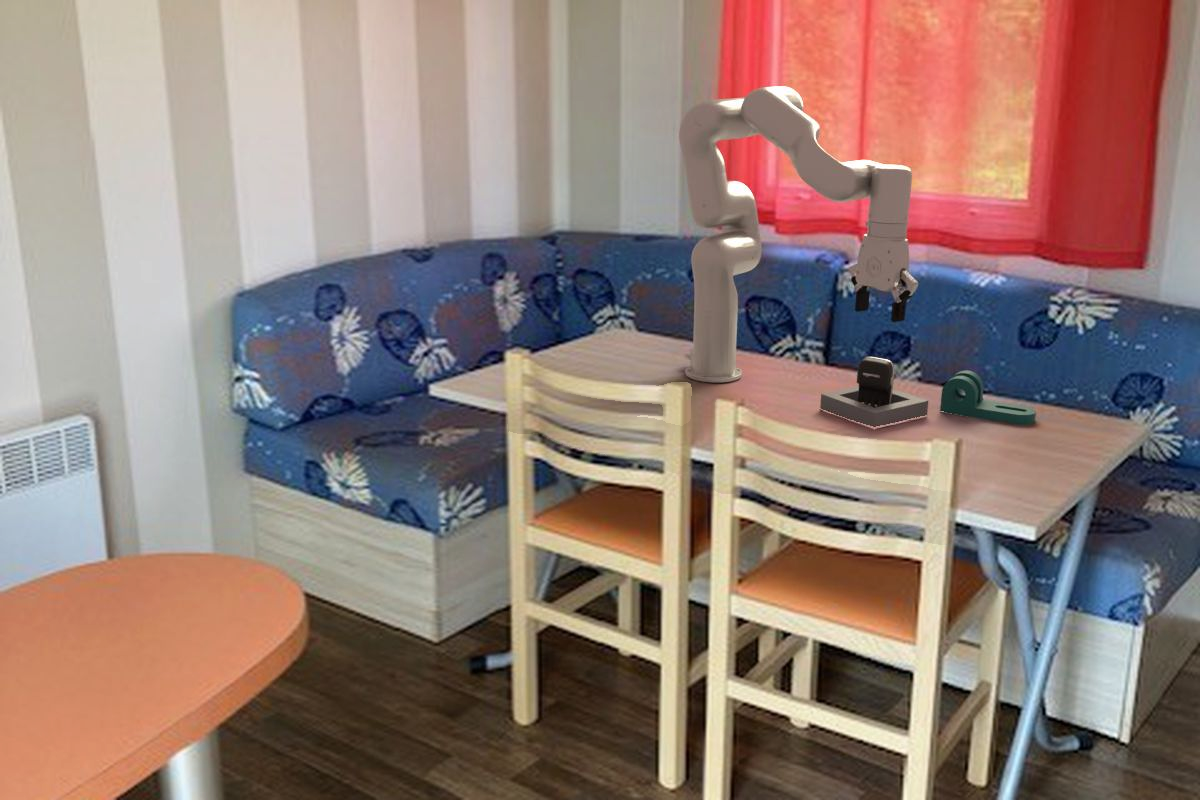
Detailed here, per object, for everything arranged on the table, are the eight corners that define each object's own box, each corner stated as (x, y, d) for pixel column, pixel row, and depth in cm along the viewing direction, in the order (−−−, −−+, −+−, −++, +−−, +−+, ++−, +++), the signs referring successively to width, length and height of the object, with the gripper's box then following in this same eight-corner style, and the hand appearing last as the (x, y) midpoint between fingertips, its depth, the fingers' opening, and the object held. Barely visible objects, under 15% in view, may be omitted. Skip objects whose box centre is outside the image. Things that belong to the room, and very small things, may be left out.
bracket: (939, 413, 250) (943, 376, 248) (948, 404, 256) (951, 368, 254) (1030, 427, 242) (1035, 389, 239) (1037, 418, 247) (1042, 381, 245)
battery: (851, 412, 250) (855, 358, 246) (859, 408, 253) (863, 354, 249) (884, 419, 246) (888, 364, 242) (891, 414, 249) (896, 360, 245)
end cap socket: (820, 410, 251) (821, 393, 250) (872, 398, 259) (873, 382, 258) (873, 430, 239) (875, 413, 238) (926, 417, 247) (928, 400, 246)
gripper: (841, 224, 243) (834, 309, 248) (907, 239, 229) (898, 328, 234) (868, 221, 247) (861, 304, 252) (934, 235, 233) (925, 323, 238)
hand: (879, 315), depth 243 cm, fingers open, 9 cm apart
